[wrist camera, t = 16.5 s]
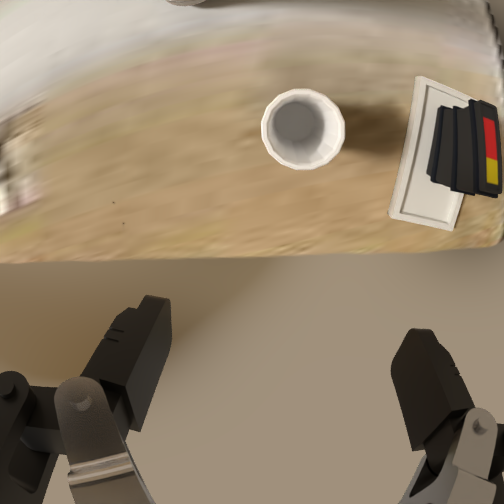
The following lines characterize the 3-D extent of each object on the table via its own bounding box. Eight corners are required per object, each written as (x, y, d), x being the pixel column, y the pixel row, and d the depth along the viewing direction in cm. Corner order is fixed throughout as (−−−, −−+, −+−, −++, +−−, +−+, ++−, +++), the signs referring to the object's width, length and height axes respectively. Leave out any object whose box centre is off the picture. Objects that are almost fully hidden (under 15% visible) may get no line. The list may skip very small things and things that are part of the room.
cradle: (415, 76, 34) (421, 75, 32) (476, 102, 34) (483, 103, 32) (387, 213, 44) (391, 218, 42) (446, 226, 44) (452, 231, 42)
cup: (303, 160, 42) (316, 187, 29) (254, 130, 40) (244, 143, 28) (334, 114, 38) (362, 120, 26) (284, 83, 37) (289, 71, 24)
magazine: (422, 197, 40) (482, 192, 25) (421, 114, 39) (474, 82, 24) (442, 200, 40) (503, 197, 25) (441, 119, 38) (495, 92, 24)
